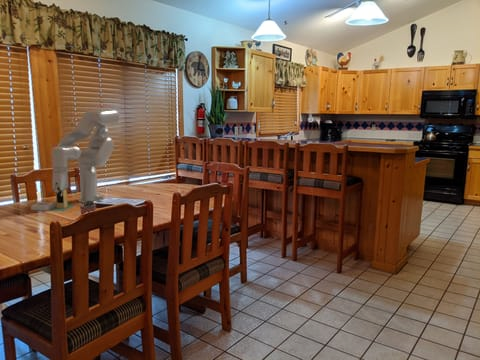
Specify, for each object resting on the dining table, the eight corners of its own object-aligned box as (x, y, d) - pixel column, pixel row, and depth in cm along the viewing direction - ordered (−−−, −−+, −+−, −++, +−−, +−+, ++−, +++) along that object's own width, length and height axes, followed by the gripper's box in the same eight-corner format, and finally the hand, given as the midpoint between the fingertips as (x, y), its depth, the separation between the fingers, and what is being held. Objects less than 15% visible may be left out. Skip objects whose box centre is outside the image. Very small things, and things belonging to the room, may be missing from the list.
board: (74, 206, 216) (74, 200, 216) (63, 212, 203) (63, 206, 202) (43, 206, 216) (43, 200, 216) (30, 212, 202) (29, 205, 202)
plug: (67, 206, 212) (66, 189, 211) (64, 208, 209) (63, 190, 207) (59, 206, 212) (58, 188, 211) (55, 207, 208) (54, 190, 207)
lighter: (94, 217, 195) (93, 198, 194) (97, 218, 193) (97, 199, 191) (79, 220, 189) (78, 201, 187) (82, 221, 187) (82, 202, 185)
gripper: (60, 167, 215) (62, 198, 218) (46, 171, 199) (48, 205, 202) (73, 167, 215) (75, 198, 218) (60, 171, 199) (62, 205, 202)
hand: (62, 201), depth 210 cm, fingers closed on plug, 4 cm apart
